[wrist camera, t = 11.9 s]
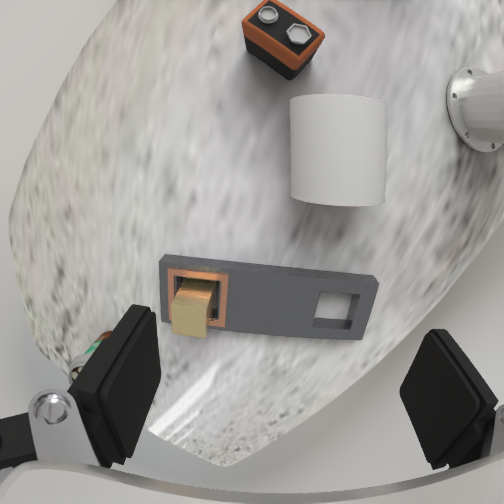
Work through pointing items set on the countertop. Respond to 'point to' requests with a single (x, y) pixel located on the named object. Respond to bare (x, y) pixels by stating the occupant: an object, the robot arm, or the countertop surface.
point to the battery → (281, 37)
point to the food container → (84, 358)
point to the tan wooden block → (193, 307)
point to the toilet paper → (338, 149)
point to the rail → (271, 297)
